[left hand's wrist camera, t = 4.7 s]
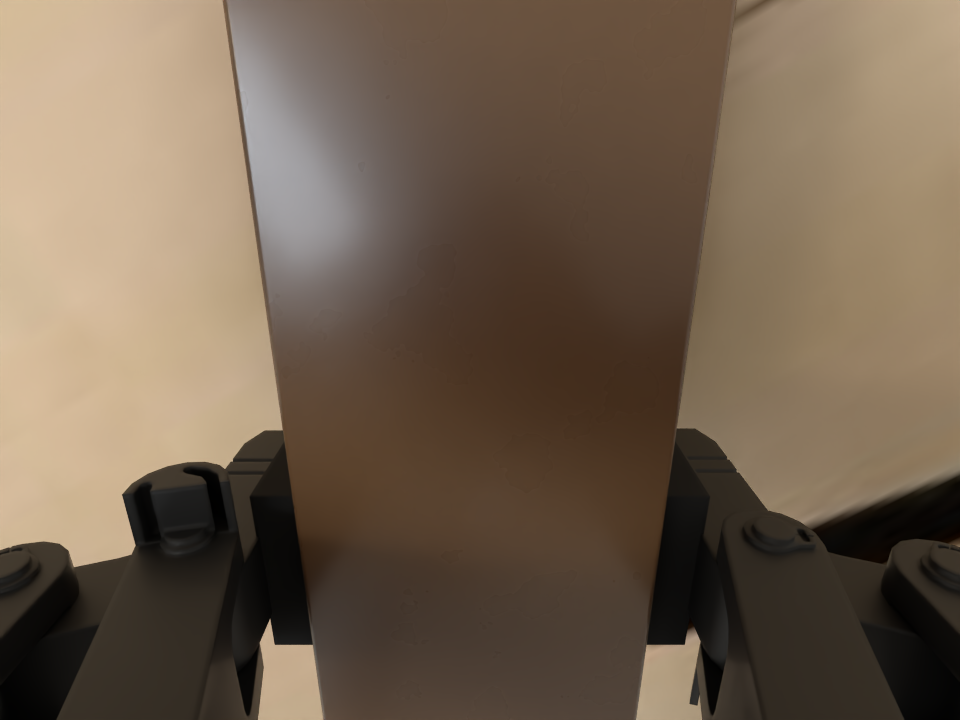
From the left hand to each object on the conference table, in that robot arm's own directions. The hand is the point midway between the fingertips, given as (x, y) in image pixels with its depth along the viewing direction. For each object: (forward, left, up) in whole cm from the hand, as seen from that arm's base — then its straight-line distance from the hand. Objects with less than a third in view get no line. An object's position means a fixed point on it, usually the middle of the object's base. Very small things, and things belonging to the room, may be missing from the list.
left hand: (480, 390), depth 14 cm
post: (+24, +5, -1) cm, 25 cm away
